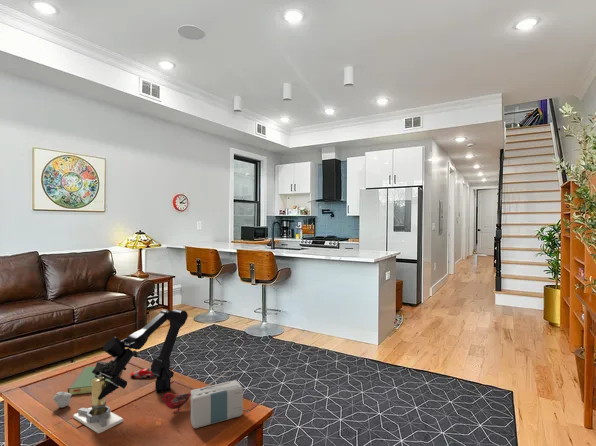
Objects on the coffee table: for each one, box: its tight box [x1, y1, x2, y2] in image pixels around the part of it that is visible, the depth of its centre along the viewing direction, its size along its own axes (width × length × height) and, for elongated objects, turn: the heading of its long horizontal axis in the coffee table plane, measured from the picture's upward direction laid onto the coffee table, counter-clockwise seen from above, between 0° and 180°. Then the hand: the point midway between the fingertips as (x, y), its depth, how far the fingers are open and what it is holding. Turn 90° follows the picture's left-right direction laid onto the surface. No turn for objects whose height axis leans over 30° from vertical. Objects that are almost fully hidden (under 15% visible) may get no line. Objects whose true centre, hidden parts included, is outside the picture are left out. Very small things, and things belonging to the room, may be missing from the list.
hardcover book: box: [67, 366, 110, 395], centre depth 182 cm, size 25×19×4 cm
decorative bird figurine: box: [161, 392, 191, 414], centre depth 156 cm, size 3×18×10 cm, turn 139°
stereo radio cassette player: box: [190, 365, 244, 429], centre depth 149 cm, size 21×8×20 cm, turn 119°
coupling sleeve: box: [91, 377, 107, 416], centre depth 148 cm, size 5×5×14 cm
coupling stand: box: [73, 405, 124, 434], centre depth 149 cm, size 10×20×4 cm, turn 57°
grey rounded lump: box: [53, 391, 72, 409], centre depth 158 cm, size 6×7×7 cm
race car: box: [130, 367, 155, 379], centre depth 189 cm, size 13×5×4 cm, turn 90°
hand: (95, 397), depth 147 cm, fingers closed on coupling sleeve, 5 cm apart
